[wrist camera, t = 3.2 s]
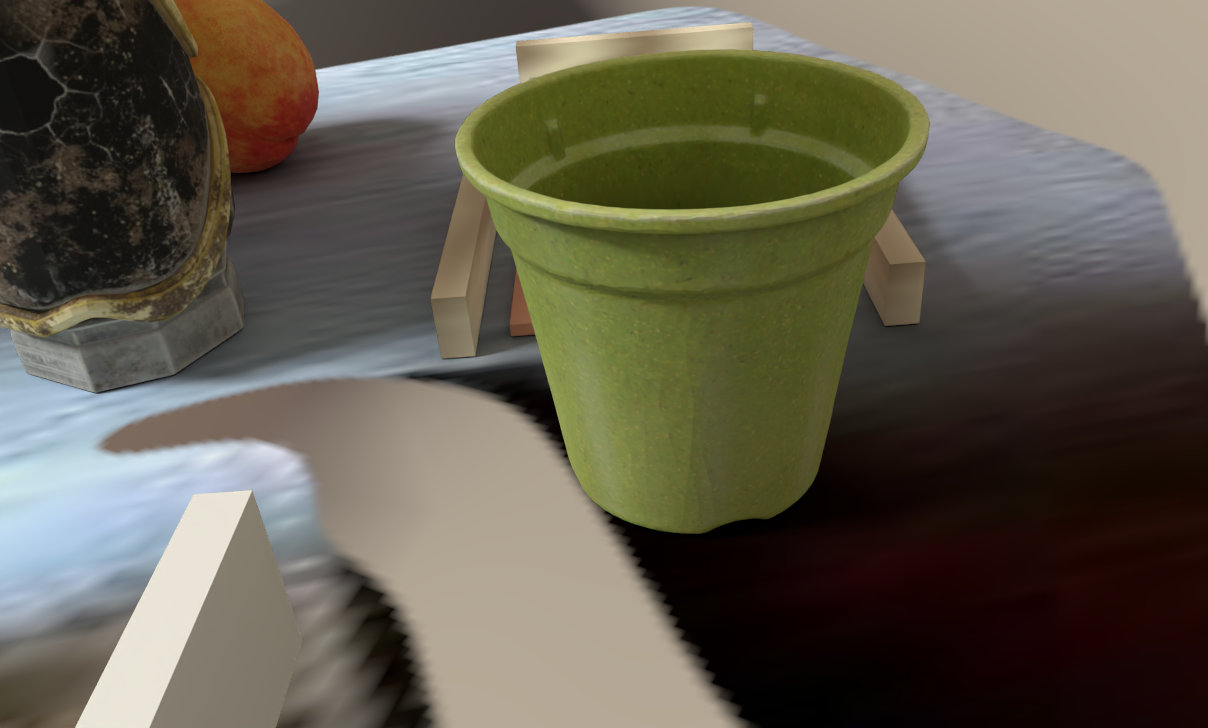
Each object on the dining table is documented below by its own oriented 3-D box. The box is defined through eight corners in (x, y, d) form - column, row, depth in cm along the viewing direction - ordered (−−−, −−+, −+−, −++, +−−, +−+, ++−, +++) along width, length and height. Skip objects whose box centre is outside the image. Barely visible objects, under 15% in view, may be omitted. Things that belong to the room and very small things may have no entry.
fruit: (270, 124, 50) (225, -48, 46) (369, 153, 45) (330, -35, 41) (118, 176, 45) (53, -10, 41) (212, 215, 40) (149, 10, 36)
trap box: (441, 358, 30) (430, 298, 29) (502, 81, 53) (497, 42, 52) (919, 323, 29) (925, 261, 28) (769, 60, 53) (769, 20, 52)
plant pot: (935, 396, 26) (977, 63, 22) (822, 652, 19) (847, 246, 15) (617, 331, 30) (594, 38, 26) (431, 524, 24) (355, 172, 19)
